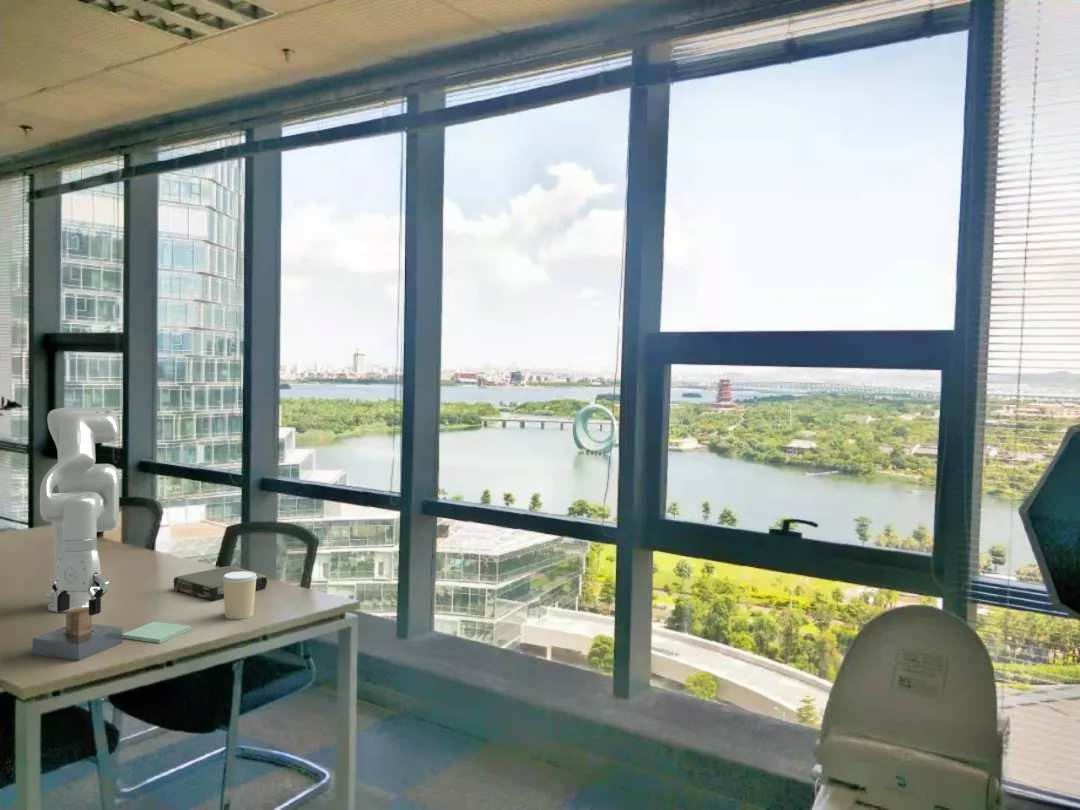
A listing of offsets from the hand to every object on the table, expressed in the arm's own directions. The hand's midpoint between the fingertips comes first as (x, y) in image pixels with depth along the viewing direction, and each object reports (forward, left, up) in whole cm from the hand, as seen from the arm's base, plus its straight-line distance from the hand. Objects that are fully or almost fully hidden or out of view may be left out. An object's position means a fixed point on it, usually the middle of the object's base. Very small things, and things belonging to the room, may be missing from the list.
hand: (79, 612), depth 203 cm
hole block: (0, 0, -9) cm, 9 cm away
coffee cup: (+20, +38, -10) cm, 44 cm away
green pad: (+10, +16, -9) cm, 21 cm away
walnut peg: (0, 0, -9) cm, 9 cm away
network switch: (-3, +60, -10) cm, 61 cm away
